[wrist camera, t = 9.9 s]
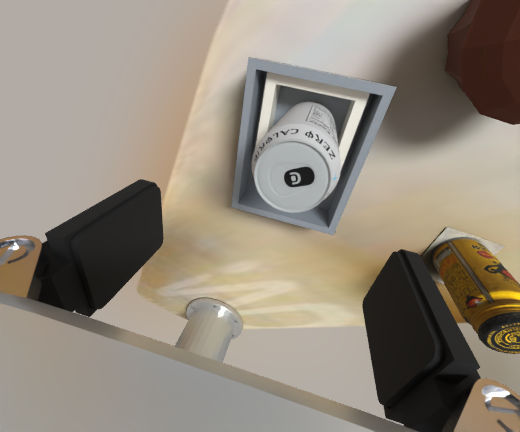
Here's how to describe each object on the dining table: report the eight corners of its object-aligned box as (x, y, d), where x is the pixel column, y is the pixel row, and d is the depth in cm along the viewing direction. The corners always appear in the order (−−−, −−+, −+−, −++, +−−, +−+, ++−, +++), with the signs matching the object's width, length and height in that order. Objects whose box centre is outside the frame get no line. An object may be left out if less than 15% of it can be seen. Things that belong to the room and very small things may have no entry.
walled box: (332, 214, 33) (333, 235, 29) (242, 190, 34) (231, 207, 30) (384, 83, 24) (396, 87, 20) (261, 58, 26) (248, 57, 21)
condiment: (504, 245, 30) (593, 333, 20) (456, 287, 35) (508, 376, 25) (446, 225, 30) (505, 302, 20) (407, 270, 35) (439, 350, 25)
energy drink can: (275, 109, 27) (232, 142, 15) (331, 93, 25) (334, 116, 13) (287, 160, 30) (259, 225, 17) (338, 149, 28) (347, 214, 15)
